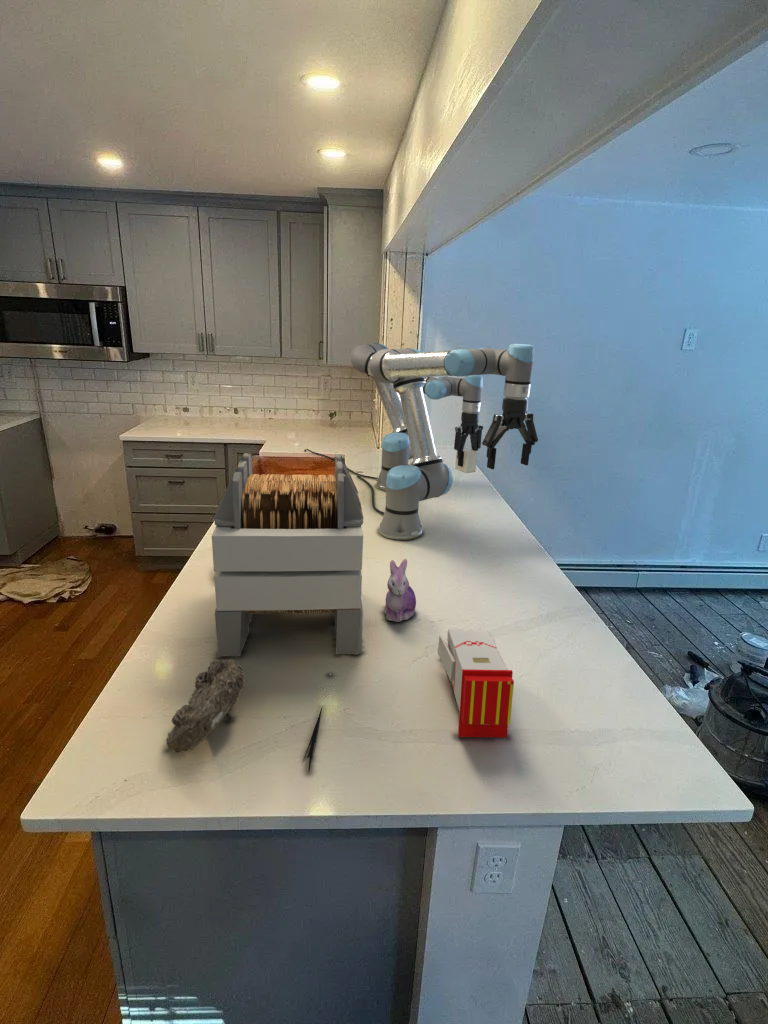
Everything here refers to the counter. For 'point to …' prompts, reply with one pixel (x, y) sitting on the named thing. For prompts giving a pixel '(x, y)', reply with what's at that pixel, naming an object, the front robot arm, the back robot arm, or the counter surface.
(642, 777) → the counter surface
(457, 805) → the counter surface
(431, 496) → the front robot arm
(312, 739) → the dark thin pointed pieces
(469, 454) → the block
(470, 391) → the back robot arm
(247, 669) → the counter surface
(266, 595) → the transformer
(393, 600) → the figurine
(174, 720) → the fossil
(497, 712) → the toy
